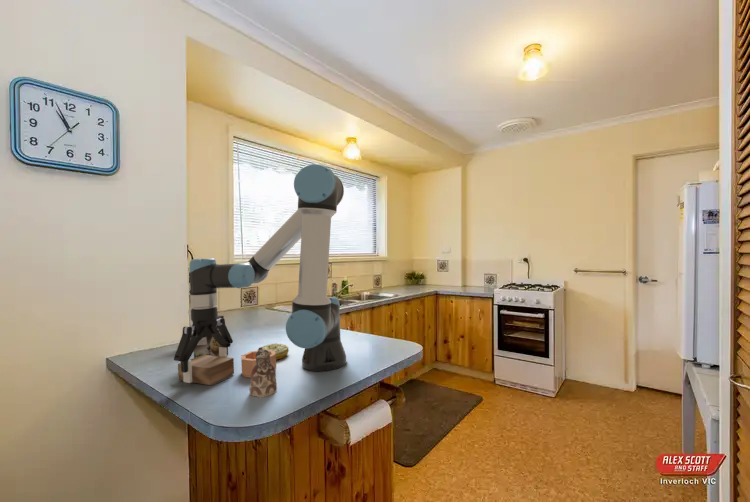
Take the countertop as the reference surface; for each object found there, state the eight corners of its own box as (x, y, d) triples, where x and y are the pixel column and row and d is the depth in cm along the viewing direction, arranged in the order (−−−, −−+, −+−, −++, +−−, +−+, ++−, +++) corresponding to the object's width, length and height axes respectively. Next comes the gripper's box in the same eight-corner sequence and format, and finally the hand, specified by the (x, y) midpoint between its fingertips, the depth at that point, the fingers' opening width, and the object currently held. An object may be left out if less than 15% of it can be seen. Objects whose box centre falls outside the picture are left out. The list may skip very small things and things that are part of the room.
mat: (233, 375, 107) (233, 374, 107) (212, 385, 99) (212, 384, 99) (201, 370, 112) (201, 369, 112) (179, 379, 104) (179, 378, 104)
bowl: (282, 367, 112) (281, 351, 112) (260, 379, 102) (260, 361, 102) (257, 364, 116) (257, 348, 116) (234, 375, 106) (234, 358, 106)
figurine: (250, 399, 89) (249, 354, 89) (249, 389, 95) (247, 347, 95) (278, 393, 92) (276, 350, 92) (275, 384, 98) (273, 344, 98)
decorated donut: (250, 358, 124) (250, 347, 124) (279, 350, 132) (278, 340, 132) (264, 365, 116) (264, 353, 116) (294, 356, 124) (293, 345, 124)
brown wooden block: (234, 373, 108) (233, 358, 107) (209, 385, 99) (208, 368, 99) (204, 369, 112) (203, 354, 112) (178, 380, 104) (178, 364, 103)
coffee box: (209, 366, 116) (207, 320, 116) (193, 365, 117) (191, 320, 117) (226, 357, 125) (224, 315, 125) (211, 357, 126) (209, 315, 126)
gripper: (225, 300, 118) (228, 360, 118) (157, 314, 95) (160, 388, 95) (242, 301, 116) (244, 362, 116) (176, 315, 92) (179, 391, 93)
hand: (206, 374), depth 106 cm, fingers open, 13 cm apart
